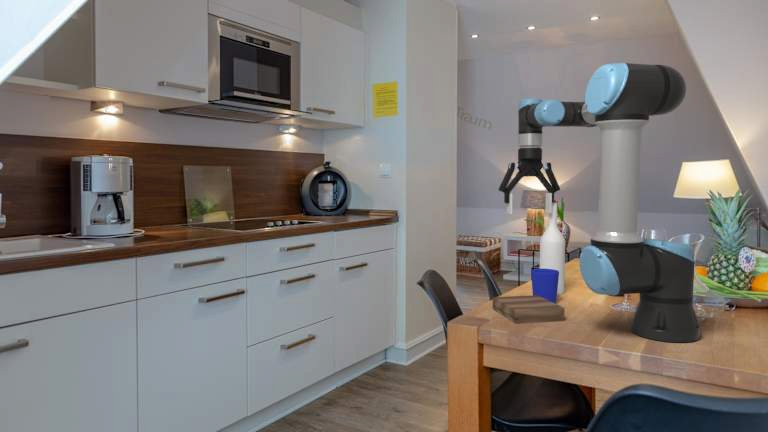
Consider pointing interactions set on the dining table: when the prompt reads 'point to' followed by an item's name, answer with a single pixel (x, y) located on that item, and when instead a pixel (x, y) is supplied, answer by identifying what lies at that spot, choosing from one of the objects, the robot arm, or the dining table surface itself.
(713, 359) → the dining table surface
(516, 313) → the board
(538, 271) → the mug
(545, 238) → the bottle
